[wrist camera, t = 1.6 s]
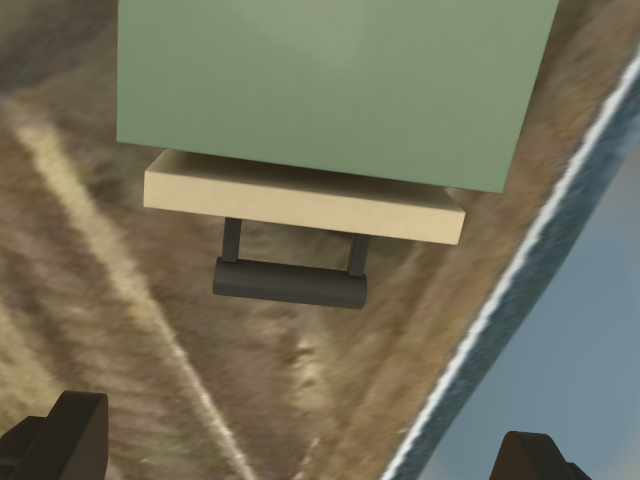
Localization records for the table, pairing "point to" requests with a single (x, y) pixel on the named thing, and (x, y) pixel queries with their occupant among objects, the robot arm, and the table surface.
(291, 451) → the table surface
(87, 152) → the table surface
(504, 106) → the cabinet
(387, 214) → the drawer
